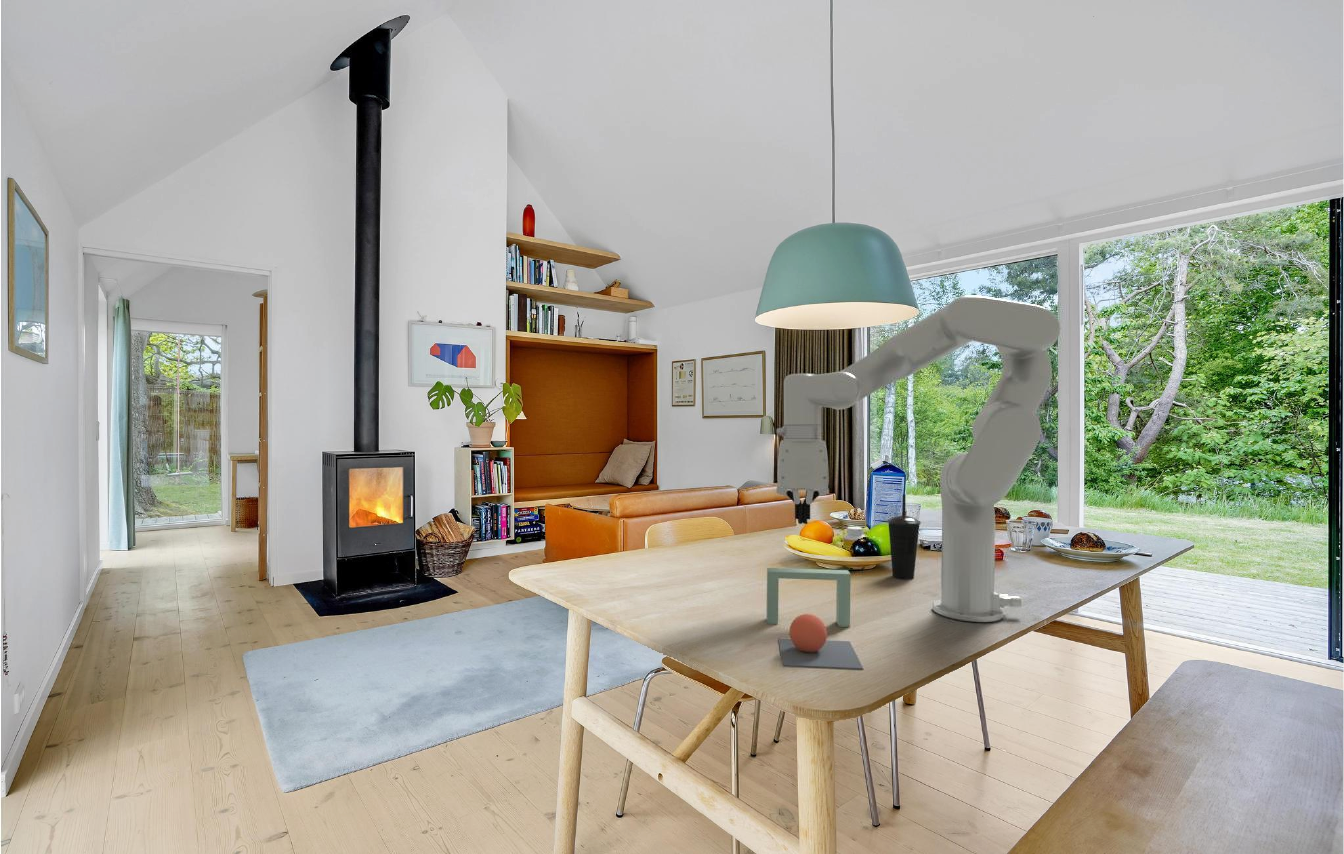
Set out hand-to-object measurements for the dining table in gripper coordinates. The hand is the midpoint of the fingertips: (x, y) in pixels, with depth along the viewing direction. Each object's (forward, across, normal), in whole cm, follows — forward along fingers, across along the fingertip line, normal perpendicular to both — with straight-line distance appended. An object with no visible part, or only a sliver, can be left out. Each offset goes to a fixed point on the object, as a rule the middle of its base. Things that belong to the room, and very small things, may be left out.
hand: (802, 522), depth 133 cm
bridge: (+17, 0, -13) cm, 21 cm away
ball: (+14, -2, -28) cm, 31 cm away
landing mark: (+17, 0, -29) cm, 33 cm away
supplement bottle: (+17, +17, +35) cm, 42 cm away
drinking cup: (+17, +27, +26) cm, 41 cm away
